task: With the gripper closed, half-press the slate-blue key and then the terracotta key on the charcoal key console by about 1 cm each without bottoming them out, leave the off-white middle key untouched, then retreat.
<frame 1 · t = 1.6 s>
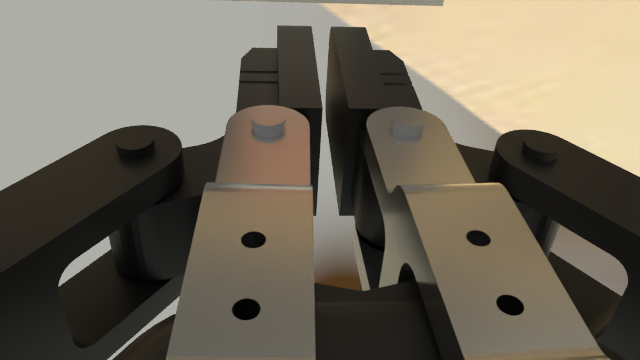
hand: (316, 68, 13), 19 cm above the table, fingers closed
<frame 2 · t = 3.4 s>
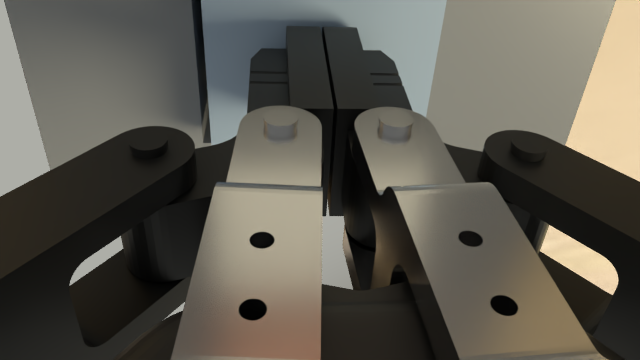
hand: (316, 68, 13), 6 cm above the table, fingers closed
slate blue key: (317, 37, 14), point 4 cm above the table, slide at 1.0 cm
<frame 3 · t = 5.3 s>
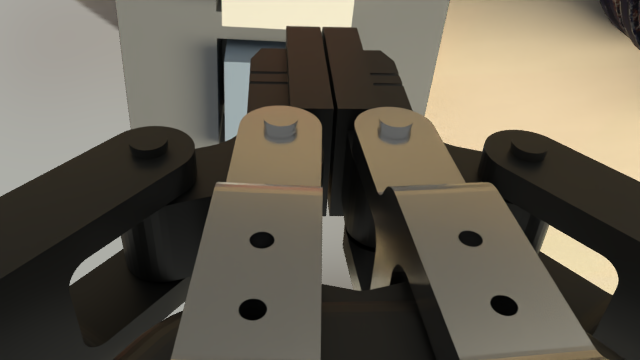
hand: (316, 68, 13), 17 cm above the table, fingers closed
slate blue key: (280, 96, 28), point 4 cm above the table, slide at 1.1 cm
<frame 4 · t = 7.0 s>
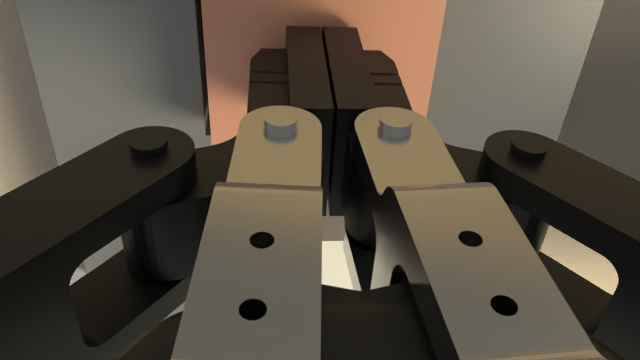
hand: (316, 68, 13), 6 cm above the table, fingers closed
white key: (308, 262, 18), point 5 cm above the table, slide at 0.0 cm
terracotta key: (317, 40, 14), point 4 cm above the table, slide at 0.5 cm, touching gripper
key console: (302, 172, 22), on the table
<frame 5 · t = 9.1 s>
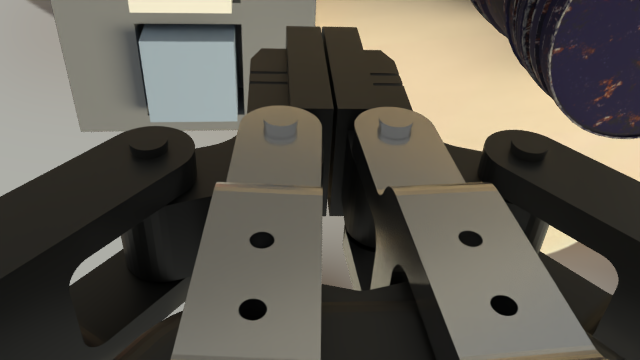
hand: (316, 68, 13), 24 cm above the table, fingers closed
slate blue key: (193, 69, 35), point 4 cm above the table, slide at 1.1 cm
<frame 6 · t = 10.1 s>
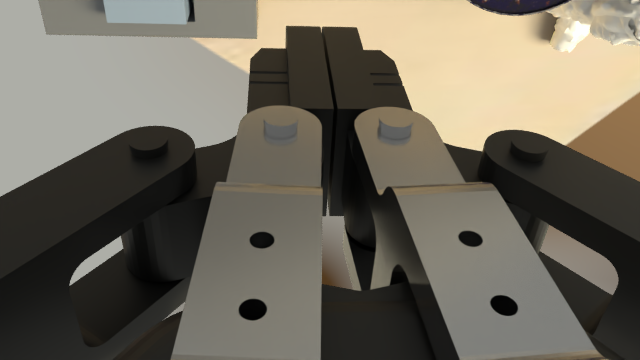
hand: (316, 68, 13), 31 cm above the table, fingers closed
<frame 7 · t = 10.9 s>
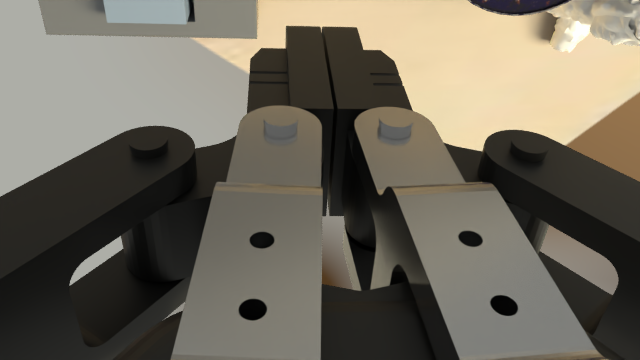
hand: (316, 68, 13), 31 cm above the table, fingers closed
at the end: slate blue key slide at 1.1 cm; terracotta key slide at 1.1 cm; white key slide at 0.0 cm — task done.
